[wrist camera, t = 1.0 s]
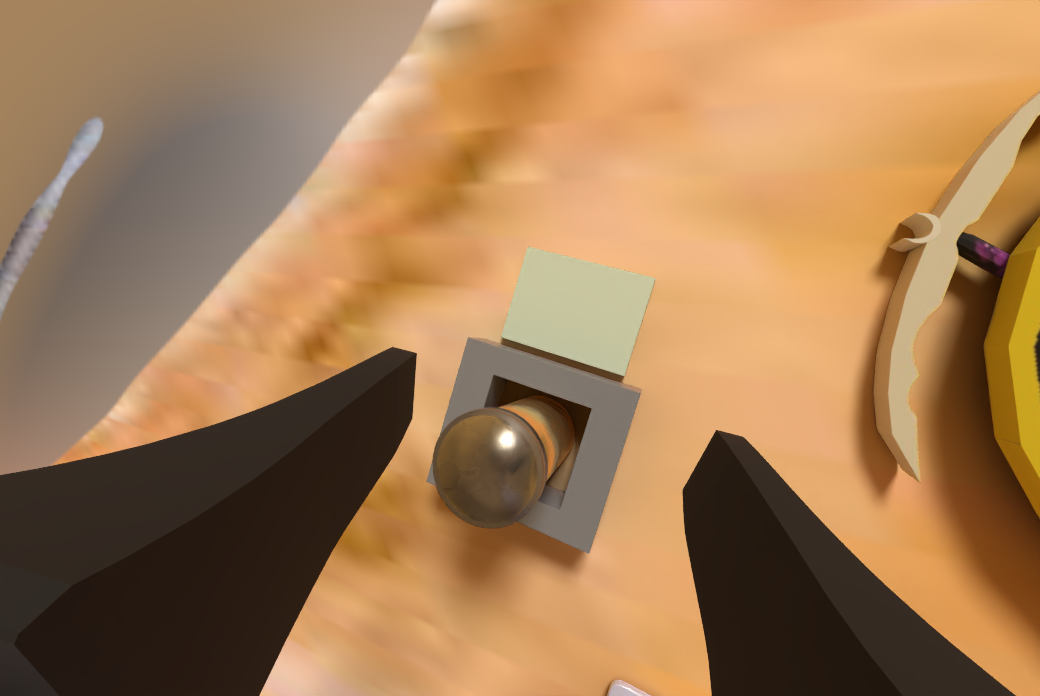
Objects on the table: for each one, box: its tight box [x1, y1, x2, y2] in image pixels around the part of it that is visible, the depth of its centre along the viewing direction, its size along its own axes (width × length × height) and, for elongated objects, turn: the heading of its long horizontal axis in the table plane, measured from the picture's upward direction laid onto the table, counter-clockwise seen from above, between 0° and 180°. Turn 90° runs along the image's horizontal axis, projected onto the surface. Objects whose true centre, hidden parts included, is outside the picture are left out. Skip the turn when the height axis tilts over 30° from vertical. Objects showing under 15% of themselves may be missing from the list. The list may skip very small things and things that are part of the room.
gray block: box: [427, 337, 641, 554], centre depth 22 cm, size 8×9×2 cm
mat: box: [501, 247, 655, 376], centre depth 23 cm, size 5×7×1 cm
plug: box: [433, 396, 574, 529], centre depth 20 cm, size 4×4×8 cm
